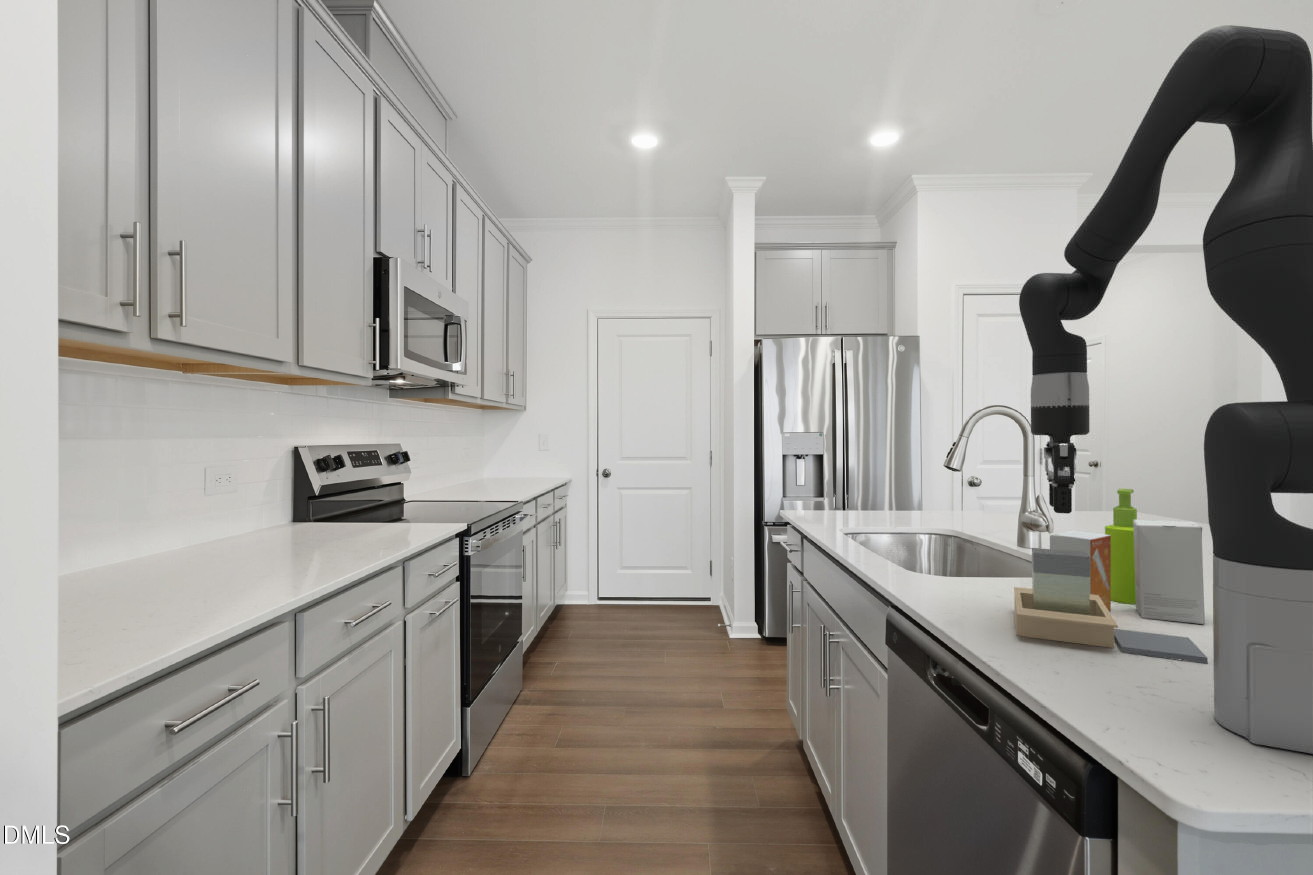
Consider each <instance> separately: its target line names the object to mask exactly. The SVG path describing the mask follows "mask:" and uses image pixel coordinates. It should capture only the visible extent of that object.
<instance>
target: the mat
mask: <svg viewBox="0 0 1313 875" xmlns="http://www.w3.org/2000/svg"><path fill="white" fill-rule="evenodd" d="M1114 643H1115V644H1116V645H1117V647H1118V648H1119V650H1120V652H1121V653H1125V654H1130V653H1133V654H1132V655H1138V654H1139V655H1140V654H1141V655H1140V656H1145V655H1149V656H1148V657H1153V656H1155V657H1154V658H1160V657H1166V658H1165V659H1168V658H1173V659H1172V660H1176V659H1181V660H1180V661H1183V660H1187V661H1186V662H1191V661H1195V662H1194V663H1198V662H1200V664H1207V665H1208V663H1209V662H1208V656H1207V655H1206V654H1204V652H1203V651H1202V650H1201V649H1200V647H1199V646H1197V645H1196V644H1195V643H1194V641H1193V640H1192V639H1190V637H1187V636H1178V635H1171V634H1162V633H1153V632H1144V631H1138V630H1130V629H1129V630H1128V629H1120V628H1114ZM1139 655H1138V656H1139Z"/></svg>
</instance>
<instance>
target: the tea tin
mask: <svg viewBox="0 0 1313 875" xmlns="http://www.w3.org/2000/svg"><path fill="white" fill-rule="evenodd" d="M1031 569H1032V570H1031V571H1032V574H1031V579H1032V581H1031V583H1032V584H1031V585H1032V588H1031V589H1032V602H1033V609H1035V610H1044V611H1053V612H1062V613H1071V614H1080V615H1089V616H1090V557H1089V555H1088V554H1087V553H1086V552H1083V551H1068V550H1054V549H1050V548H1038V547H1031Z"/></svg>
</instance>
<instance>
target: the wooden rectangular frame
mask: <svg viewBox="0 0 1313 875" xmlns="http://www.w3.org/2000/svg"><path fill="white" fill-rule="evenodd" d="M1013 590H1014V592H1013V593H1014V594H1013V595H1014V596H1013V597H1014V622H1015V631H1016V636H1018V637H1025V638H1027V637H1028V638H1032V639H1033V638H1034V639H1035V638H1036V639H1041V640H1042V639H1043V640H1050V641H1058V642H1064V643H1065V642H1066V643H1071V644H1072V643H1074V644H1081V645H1089V646H1096V647H1102V648H1112V649H1115V640H1114V629H1119V625H1118V624H1117V622H1116V621H1115V619H1114V617H1113V616H1112V614H1111V613H1110V611H1108V609H1107V608H1106V606H1105V605H1104V603H1103V601H1102V600H1101V598H1100V597H1099V595H1092V594H1090V616H1089V615H1080V614H1071V613H1062V612H1053V611H1044V610H1035V609H1033V602H1032V588H1028V587H1020V586H1019V587H1018V586H1013Z"/></svg>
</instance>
